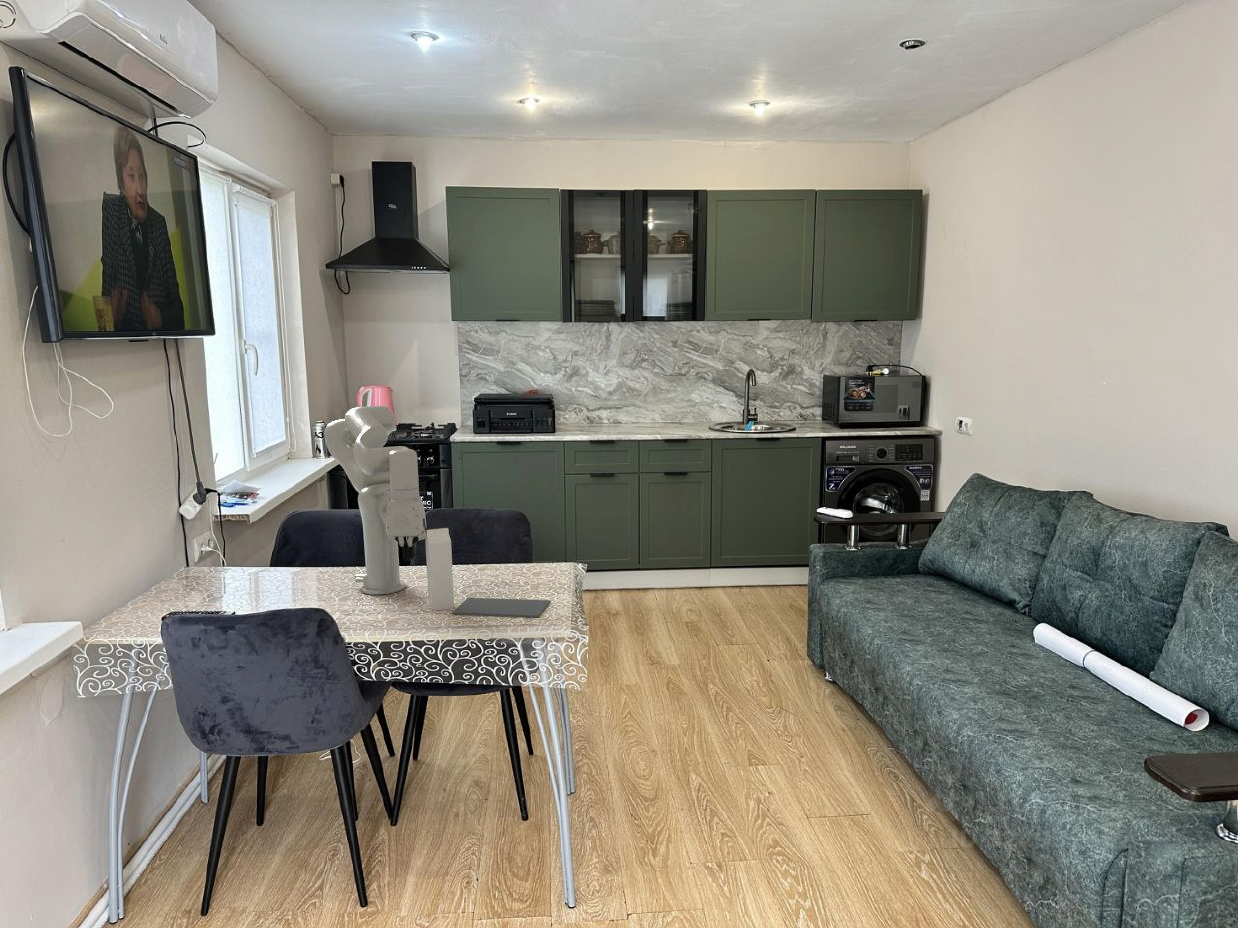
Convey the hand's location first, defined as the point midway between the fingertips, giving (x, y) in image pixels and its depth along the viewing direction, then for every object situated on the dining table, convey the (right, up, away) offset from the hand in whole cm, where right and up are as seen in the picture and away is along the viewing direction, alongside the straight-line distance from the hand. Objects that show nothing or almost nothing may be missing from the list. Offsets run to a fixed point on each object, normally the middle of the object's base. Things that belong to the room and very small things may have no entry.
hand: (408, 559), depth 217 cm
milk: (+9, -13, +1) cm, 16 cm away
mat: (+26, -13, -2) cm, 29 cm away
